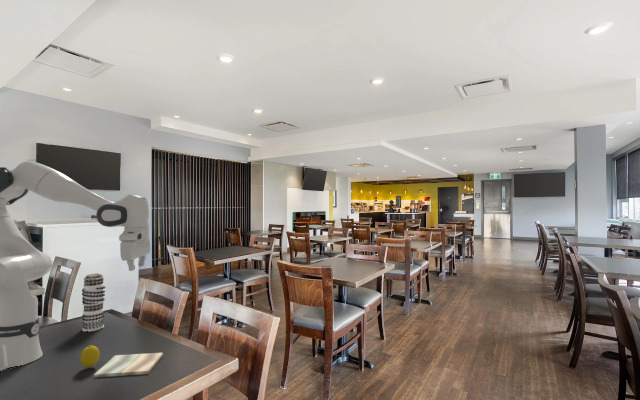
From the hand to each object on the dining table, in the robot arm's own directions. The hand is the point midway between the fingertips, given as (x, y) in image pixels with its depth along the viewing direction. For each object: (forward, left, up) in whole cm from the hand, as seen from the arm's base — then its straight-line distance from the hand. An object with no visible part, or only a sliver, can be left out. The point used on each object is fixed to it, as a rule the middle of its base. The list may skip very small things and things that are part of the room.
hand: (136, 268), depth 134 cm
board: (+5, -17, -32) cm, 36 cm away
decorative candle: (-28, +24, -32) cm, 48 cm away
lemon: (-8, -17, -32) cm, 37 cm away
